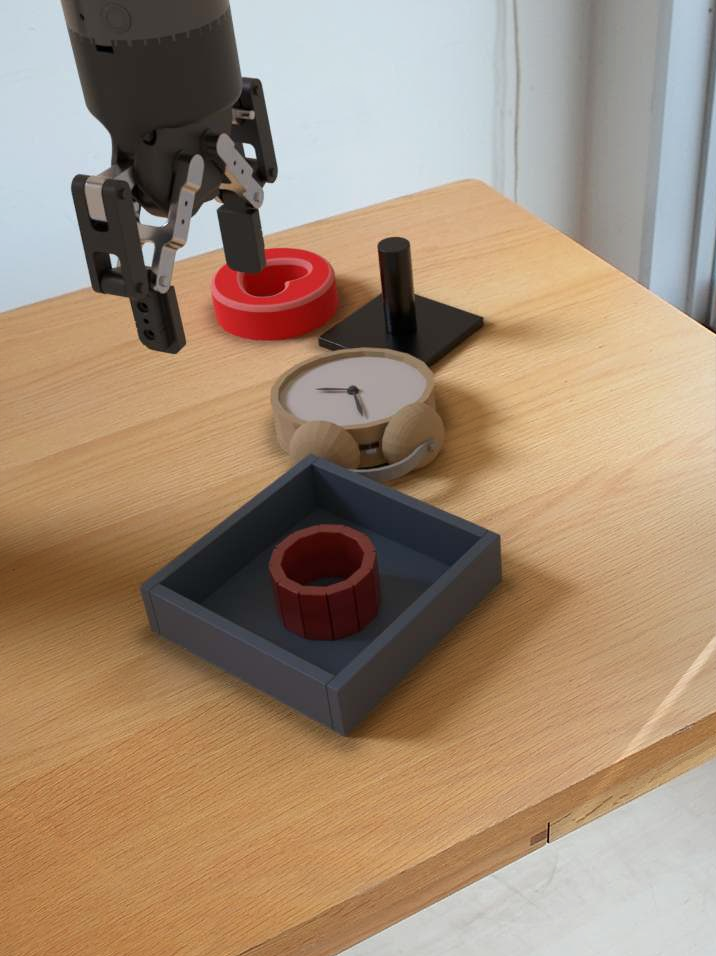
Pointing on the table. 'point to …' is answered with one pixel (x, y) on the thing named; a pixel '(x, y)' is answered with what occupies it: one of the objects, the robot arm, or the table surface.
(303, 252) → the decorative ornament
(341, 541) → the ring
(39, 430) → the table surface
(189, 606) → the box
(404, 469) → the alarm clock
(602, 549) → the table surface
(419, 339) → the post
